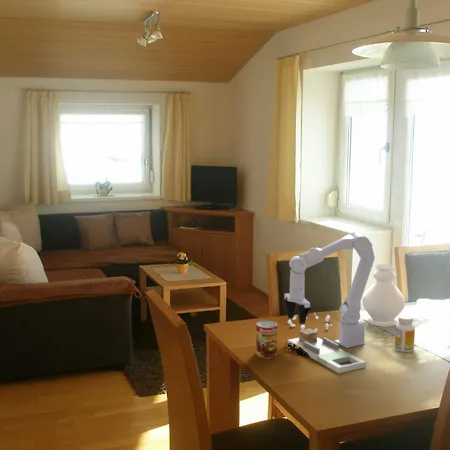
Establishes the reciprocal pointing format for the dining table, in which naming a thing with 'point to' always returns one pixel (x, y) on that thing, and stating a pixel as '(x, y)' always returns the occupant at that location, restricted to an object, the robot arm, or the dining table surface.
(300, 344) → the deck
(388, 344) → the dining table surface
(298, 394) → the dining table surface
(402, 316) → the supplement bottle
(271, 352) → the canned food
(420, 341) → the dining table surface
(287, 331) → the dining table surface
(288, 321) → the game piece set
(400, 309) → the decorative vase
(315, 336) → the block
